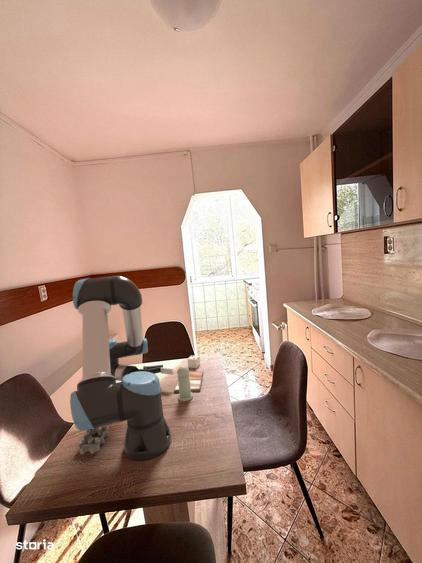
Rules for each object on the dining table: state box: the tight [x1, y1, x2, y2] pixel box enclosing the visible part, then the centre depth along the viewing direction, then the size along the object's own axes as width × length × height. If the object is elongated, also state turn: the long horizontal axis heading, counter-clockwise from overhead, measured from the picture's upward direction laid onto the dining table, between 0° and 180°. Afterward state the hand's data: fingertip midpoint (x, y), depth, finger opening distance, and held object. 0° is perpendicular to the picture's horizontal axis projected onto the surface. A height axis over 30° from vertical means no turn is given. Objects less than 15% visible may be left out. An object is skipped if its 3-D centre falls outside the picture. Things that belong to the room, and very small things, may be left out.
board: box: [173, 371, 204, 394], centre depth 127 cm, size 18×12×1 cm, turn 177°
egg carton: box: [76, 425, 110, 455], centre depth 89 cm, size 11×8×4 cm
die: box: [187, 355, 201, 369], centre depth 146 cm, size 5×5×5 cm
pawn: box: [176, 365, 194, 403], centre depth 113 cm, size 6×6×14 cm
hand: (165, 378), depth 117 cm, fingers open, 13 cm apart
